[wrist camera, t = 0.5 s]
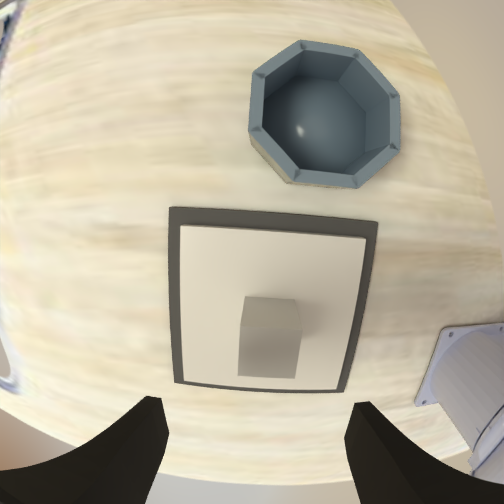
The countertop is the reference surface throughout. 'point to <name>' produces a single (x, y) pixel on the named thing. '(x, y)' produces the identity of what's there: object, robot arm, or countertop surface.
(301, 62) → the bowl
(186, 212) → the mat
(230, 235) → the cover
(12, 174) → the countertop surface
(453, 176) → the countertop surface
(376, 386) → the countertop surface
